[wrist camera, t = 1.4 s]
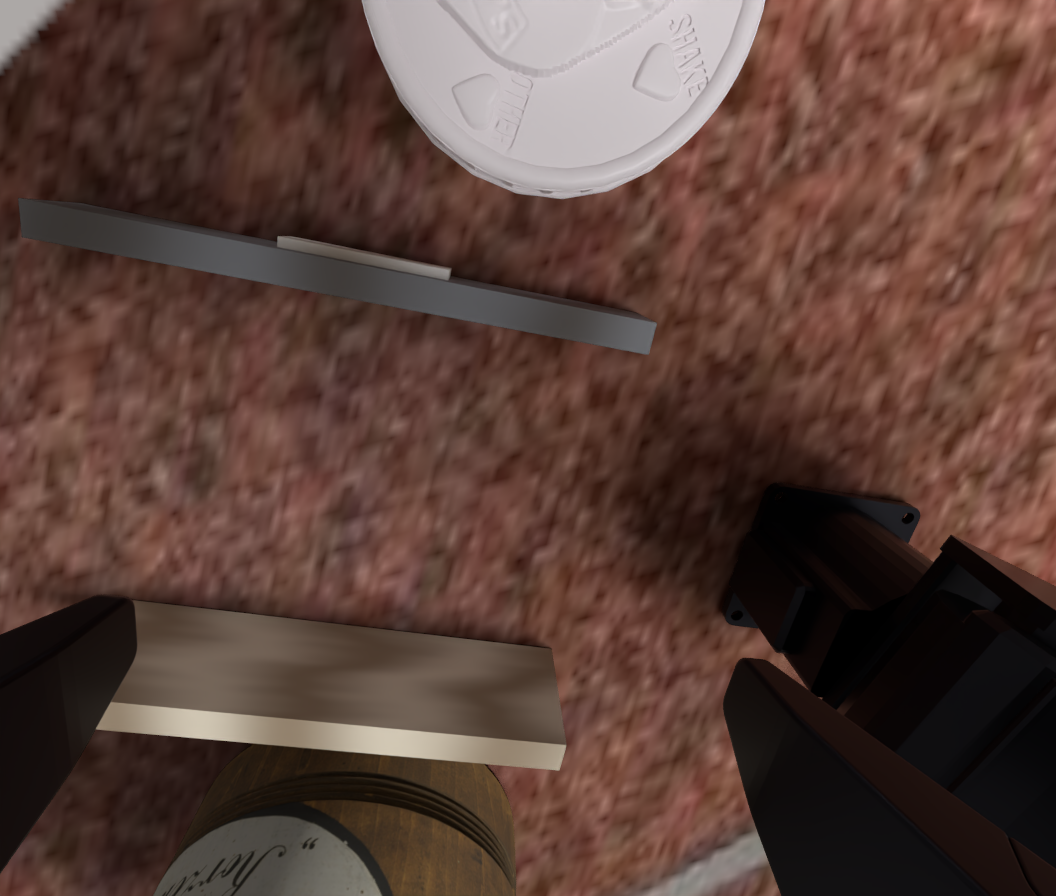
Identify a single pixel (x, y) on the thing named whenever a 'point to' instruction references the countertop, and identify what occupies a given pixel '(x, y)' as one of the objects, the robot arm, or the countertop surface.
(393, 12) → the smoothie
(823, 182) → the countertop surface
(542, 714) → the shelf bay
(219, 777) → the wooden container
